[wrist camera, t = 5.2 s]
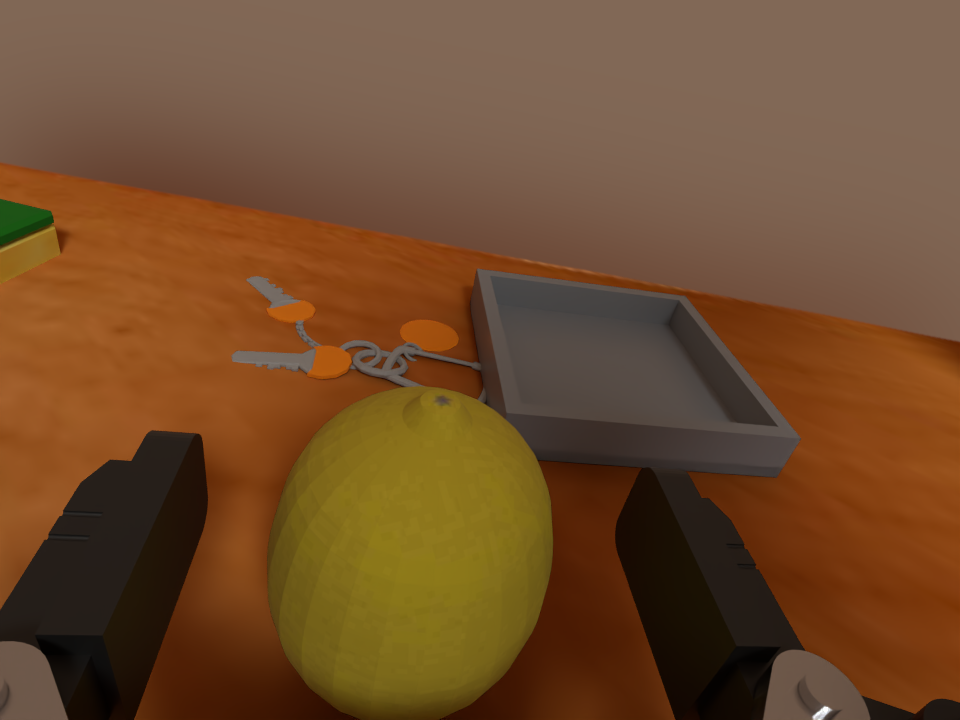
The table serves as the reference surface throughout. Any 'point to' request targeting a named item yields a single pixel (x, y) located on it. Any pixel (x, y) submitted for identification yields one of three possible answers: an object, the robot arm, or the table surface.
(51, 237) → the dish sponge
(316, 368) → the key chain
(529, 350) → the tray
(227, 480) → the table surface
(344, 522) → the lemon
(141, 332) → the table surface
